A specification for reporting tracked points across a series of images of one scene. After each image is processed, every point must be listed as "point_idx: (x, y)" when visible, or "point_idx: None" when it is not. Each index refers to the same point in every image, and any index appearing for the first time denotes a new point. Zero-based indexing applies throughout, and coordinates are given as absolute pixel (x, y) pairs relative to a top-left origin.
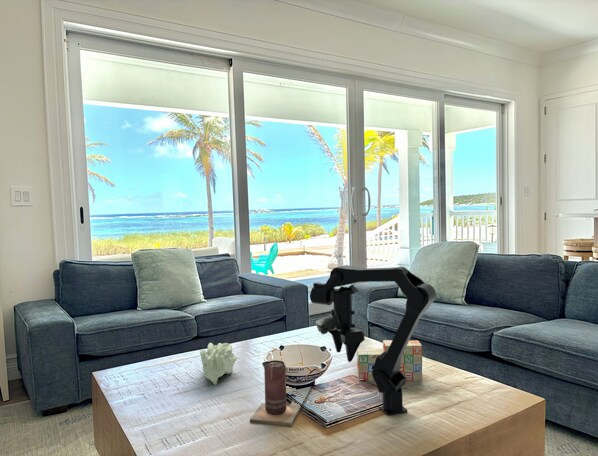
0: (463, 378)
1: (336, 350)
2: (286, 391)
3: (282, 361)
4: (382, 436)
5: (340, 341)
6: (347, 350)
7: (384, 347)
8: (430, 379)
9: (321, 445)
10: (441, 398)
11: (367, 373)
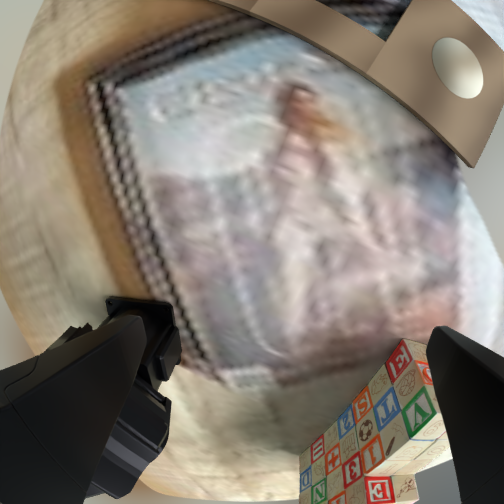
0: (269, 492)
1: (450, 331)
2: (413, 18)
3: None
4: (26, 225)
5: (466, 432)
6: (17, 366)
7: (391, 489)
8: (296, 466)
9: (28, 64)
10: (187, 439)
11: (393, 379)
